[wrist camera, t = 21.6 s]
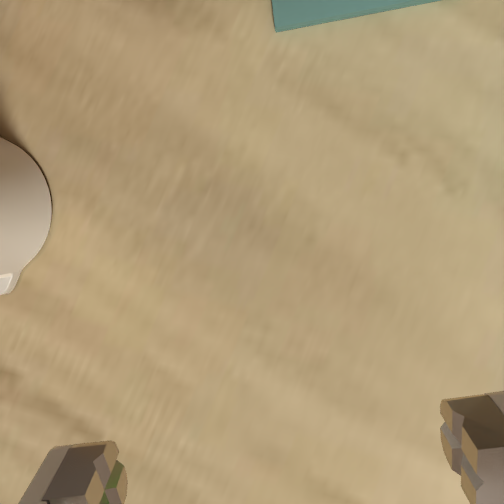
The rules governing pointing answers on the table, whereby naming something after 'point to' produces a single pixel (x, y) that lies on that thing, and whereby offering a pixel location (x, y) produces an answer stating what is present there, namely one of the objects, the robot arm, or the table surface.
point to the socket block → (329, 10)
